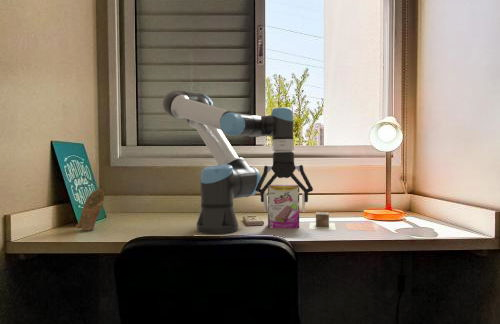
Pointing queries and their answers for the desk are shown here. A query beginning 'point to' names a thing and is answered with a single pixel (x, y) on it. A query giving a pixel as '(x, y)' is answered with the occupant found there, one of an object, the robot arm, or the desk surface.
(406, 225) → the desk surface
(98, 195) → the figurine
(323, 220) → the walnut block
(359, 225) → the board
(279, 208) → the candy bar box
